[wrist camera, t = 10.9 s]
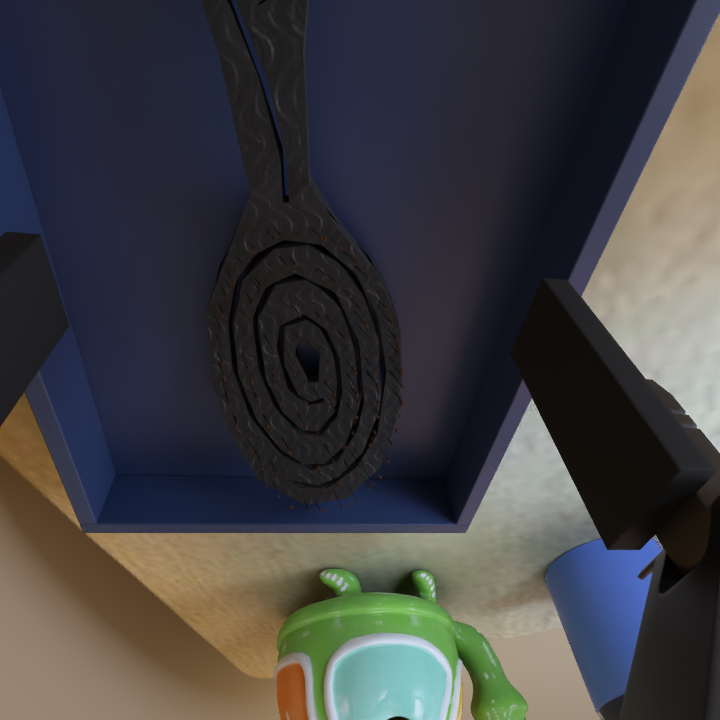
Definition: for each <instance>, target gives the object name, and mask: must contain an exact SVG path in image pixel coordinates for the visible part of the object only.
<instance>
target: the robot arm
mask: <svg viewBox="0 0 720 720" xmlns="http://www.w3.org/2000/svg"><path fill="white" fill-rule="evenodd" d="M68 327H69V323H68V320H67V317H66V313H65V310H64V307H63V304H62V301H61V297H60V294H59V291H58V288H57V285H56V281H55V278H54V275H53V272H52V269H51V266H50V262H49V259H48V256H47V253H46V250H45V246H44V243H43V240H42V237H41V234H30V233H19V232H5V233H4V234H3V235H2V236H1V237H0V427H1V425H2V424H3V422H4V421H5V419H6V418H7V416H8V415H9V413H10V412H11V411H12V409H13V408H14V406H15V405H16V403H17V402H18V400H19V399H20V397H21V396H22V394H23V393H24V391H25V390H26V389H27V387H28V386H29V384H30V383H31V381H32V380H33V378H34V377H35V375H36V374H37V372H38V371H39V369H40V368H41V367H42V365H43V364H44V362H45V361H46V359H47V358H48V356H49V355H50V353H51V352H52V350H53V349H54V347H55V346H56V345H57V343H58V342H59V340H60V339H61V337H62V336H63V334H64V333H65V331H66V330H67V328H68ZM510 354H511V356H512V358H513V360H514V362H515V364H516V366H517V368H518V370H519V372H520V374H521V376H522V378H523V380H524V382H525V384H526V386H527V388H528V390H529V392H530V394H531V397H532V399H533V401H534V403H535V405H536V407H537V409H538V411H539V413H540V415H541V417H542V419H543V421H544V423H545V425H546V427H547V429H548V431H549V433H550V435H551V437H552V439H553V441H554V443H555V445H556V447H557V449H558V451H559V453H560V455H561V457H562V459H563V461H564V463H565V465H566V467H567V469H568V472H569V474H570V476H571V478H572V480H573V482H574V484H575V486H576V488H577V490H578V492H579V494H580V496H581V498H582V500H583V502H584V504H585V506H586V508H587V510H588V512H589V514H590V516H591V518H592V520H593V522H594V524H595V526H596V528H597V530H598V532H599V534H600V536H601V538H602V540H603V542H604V545H605V547H606V549H607V550H641V549H642V548H643V547H644V546H645V544H646V543H647V542H648V541H649V540H650V539H651V538H652V537H653V536H654V535H655V534H656V536H657V538H658V539H659V541H660V543H661V544H662V546H663V548H664V549H663V550H662V551H661V552H660V553H659V554H658V555H657V556H656V557H655V558H654V559H653V560H652V561H651V562H650V563H649V564H647V565H646V566H645V567H644V568H643V569H642V570H641V572H640V573H639V575H638V578H639V579H641V580H643V579H644V578H646V577H647V576H648V575H649V574H650V573H652V577H651V581H650V586H649V590H648V595H647V599H646V603H645V608H644V612H643V616H642V621H641V625H640V629H639V634H638V638H637V643H636V647H635V651H634V656H633V660H632V664H631V669H630V673H629V678H628V682H627V686H626V691H625V695H624V699H623V704H622V708H621V712H620V717H619V720H720V453H719V452H718V451H717V449H716V448H715V447H714V446H713V445H712V443H711V442H710V441H709V440H708V438H707V437H706V436H705V435H704V434H703V432H702V431H701V430H700V429H697V428H696V426H697V425H696V424H695V423H694V421H693V420H692V419H691V418H690V416H689V415H685V410H684V409H683V408H682V407H681V406H680V404H679V403H678V402H677V401H676V399H675V398H674V397H673V396H672V395H671V394H670V393H669V392H667V391H666V390H665V389H664V388H662V387H661V386H660V385H658V384H657V383H656V382H654V381H653V380H649V379H645V378H644V376H643V375H642V374H641V373H640V371H639V370H638V369H637V367H636V366H635V365H634V364H633V362H632V361H631V360H630V359H629V357H628V356H627V355H626V353H625V352H624V351H623V350H622V348H621V347H620V346H619V345H618V343H617V342H616V341H615V340H614V338H613V337H612V336H611V334H610V333H609V332H608V331H607V329H606V328H605V327H604V326H603V324H602V323H601V322H600V320H599V319H598V318H597V317H596V315H595V314H594V313H593V312H592V310H591V309H590V308H589V306H588V305H587V304H586V303H585V301H584V300H583V299H582V298H581V296H580V295H579V294H578V293H577V291H576V290H575V289H574V287H573V286H572V285H571V284H570V282H569V281H568V280H563V279H551V278H542V280H541V282H540V285H539V287H538V289H537V292H536V294H535V296H534V299H533V301H532V303H531V306H530V308H529V310H528V313H527V315H526V317H525V320H524V322H523V324H522V327H521V329H520V331H519V334H518V336H517V338H516V341H515V343H514V345H513V348H512V350H511V352H510Z"/></svg>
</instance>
